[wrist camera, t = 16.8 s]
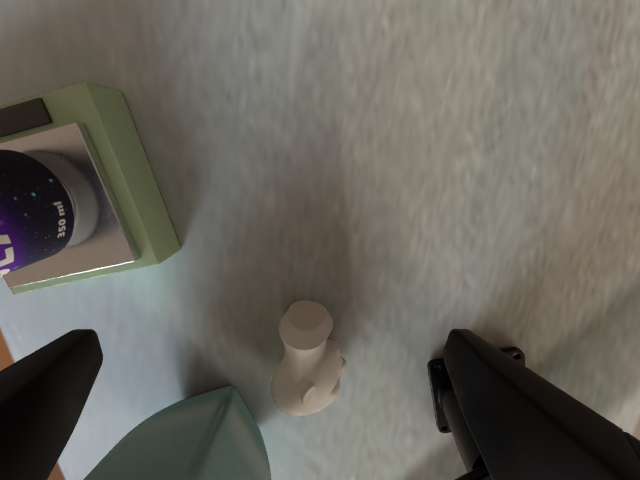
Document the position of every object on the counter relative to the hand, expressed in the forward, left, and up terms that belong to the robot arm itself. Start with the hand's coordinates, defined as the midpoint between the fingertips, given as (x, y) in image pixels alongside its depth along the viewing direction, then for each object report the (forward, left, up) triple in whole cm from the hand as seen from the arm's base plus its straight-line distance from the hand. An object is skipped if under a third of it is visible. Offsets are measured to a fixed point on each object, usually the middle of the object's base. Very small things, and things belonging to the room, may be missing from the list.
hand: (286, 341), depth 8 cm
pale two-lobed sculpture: (-9, +2, -13) cm, 15 cm away
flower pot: (-14, +11, -13) cm, 22 cm away
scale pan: (+5, +14, -9) cm, 18 cm away
